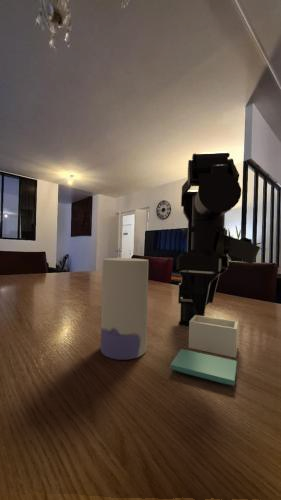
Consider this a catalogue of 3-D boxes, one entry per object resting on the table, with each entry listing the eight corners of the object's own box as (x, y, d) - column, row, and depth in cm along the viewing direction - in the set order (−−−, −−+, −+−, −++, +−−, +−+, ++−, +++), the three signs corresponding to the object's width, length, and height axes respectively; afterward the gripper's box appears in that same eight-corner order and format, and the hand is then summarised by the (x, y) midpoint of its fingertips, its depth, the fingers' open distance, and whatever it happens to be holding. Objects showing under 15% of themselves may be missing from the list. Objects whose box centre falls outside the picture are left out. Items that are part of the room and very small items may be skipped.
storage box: (188, 347, 52) (189, 321, 52) (194, 338, 57) (194, 314, 57) (236, 357, 47) (236, 329, 47) (237, 347, 53) (238, 321, 53)
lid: (170, 375, 41) (170, 364, 41) (181, 358, 47) (181, 348, 47) (234, 393, 36) (234, 380, 36) (236, 371, 42) (236, 360, 42)
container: (151, 344, 53) (153, 258, 53) (137, 364, 44) (139, 260, 44) (113, 337, 56) (115, 257, 56) (91, 355, 47) (94, 258, 47)
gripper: (259, 211, 29) (256, 331, 29) (256, 226, 46) (254, 303, 46) (176, 215, 34) (174, 318, 34) (200, 227, 51) (198, 296, 51)
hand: (205, 307), depth 41 cm, fingers open, 9 cm apart
